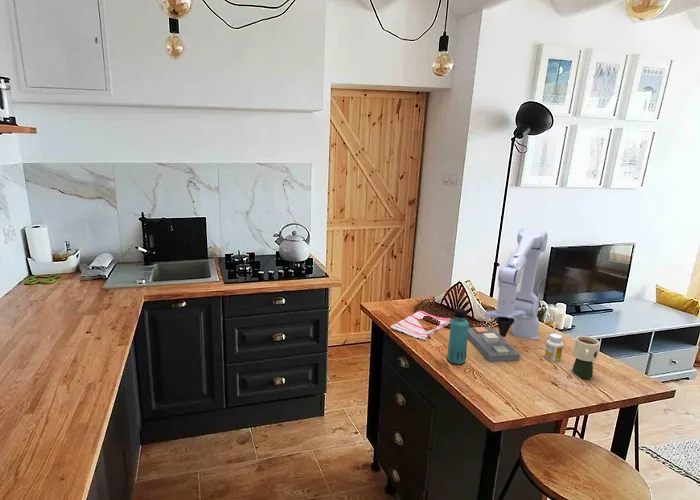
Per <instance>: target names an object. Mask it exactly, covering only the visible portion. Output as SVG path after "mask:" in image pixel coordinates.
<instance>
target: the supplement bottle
mask: <svg viewBox="0 0 700 500" xmlns="http://www.w3.org/2000/svg"><path fill="white" fill-rule="evenodd" d="M548 337H549V339H547V340H546V345H545V354H544V358H545V359H546V360H548V361H550V362H554V363H555V362H556V363H557V362H558V363H559V362H560V363H561V362H562V356H563V355H562V354H563V349H564V343H563V342H562V341H563V336H562V335H561V334H558V333H550V334H549V336H548Z"/></svg>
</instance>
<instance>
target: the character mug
mask: <svg viewBox="0 0 700 500" xmlns="http://www.w3.org/2000/svg"><path fill="white" fill-rule="evenodd" d="M600 345H601V343H600V340H598V339H596V338H594V337H591V336H588V335H587V336H586V335H578V336H576V337H575V340H574V347H573V356H574V358H575V361H574V363H573V366H572V370H571V372H572V373H573V374H575V375H576V376H578V377H581V378H583V379H592V378H593V377H594V376H593V373H594V362H596V361H597V360H598V356H599V350H600V349H599V348H600Z"/></svg>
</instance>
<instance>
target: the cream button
mask: <svg viewBox="0 0 700 500" xmlns="http://www.w3.org/2000/svg"><path fill="white" fill-rule="evenodd" d="M498 339H499V337H497V336H496V335H495V334H494V333H483V340H484V341H485V342H486V343H498Z"/></svg>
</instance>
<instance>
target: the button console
mask: <svg viewBox="0 0 700 500" xmlns="http://www.w3.org/2000/svg"><path fill="white" fill-rule="evenodd" d="M483 327H484V328H485V329H486V330H487V331H488V333H494V334H495V335H496V336H497V337H499V339H498V343H486V342H485V341H484V340H483V334H477V333H476V332H475V331H474V327H468V339H467V340H468V341H470V342H471V343H472V345H473V346H474V347H475V348H476V349H477V350H478V351H479V353H480V354H482V356H483V357H484V358H485V359H486V360H487V361H488V362H489V363H502V362H504V363H505V362H506V363H507V362H519V361H520V356H521V354H520V352H518V351H517V350H516V349H515V348H514V347H513V346H512V345H510V344H509V343H508V342H507V341H506V340H505V339H504V337H501V336H500V334H498V333H497V332H496V331H495V330H494V329H493V328H492V327H491V326H483ZM493 346H504V347H505V348H506V349H507V350H508V351H509V354H497V353H496V352H495V351H494V350H493Z"/></svg>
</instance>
